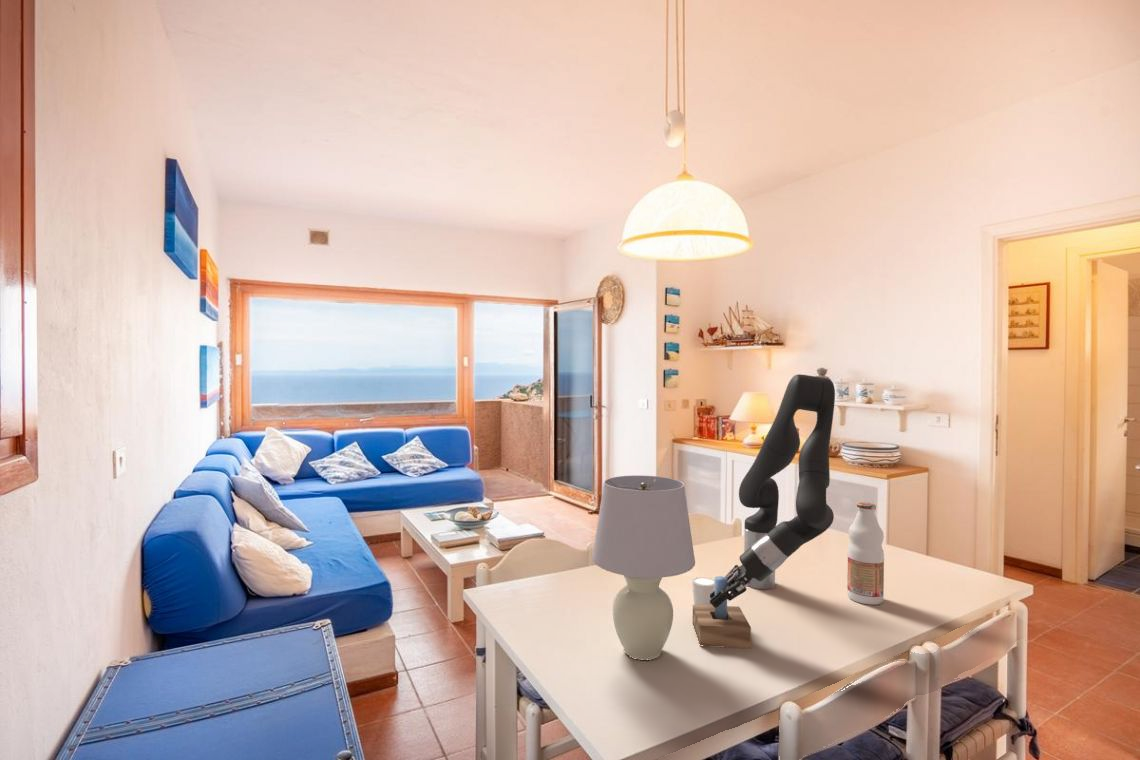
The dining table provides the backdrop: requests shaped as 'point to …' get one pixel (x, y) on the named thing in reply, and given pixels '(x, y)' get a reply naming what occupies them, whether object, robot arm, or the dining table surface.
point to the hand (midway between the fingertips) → (712, 601)
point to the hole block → (721, 627)
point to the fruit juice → (866, 557)
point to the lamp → (643, 555)
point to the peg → (722, 608)
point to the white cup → (702, 590)
